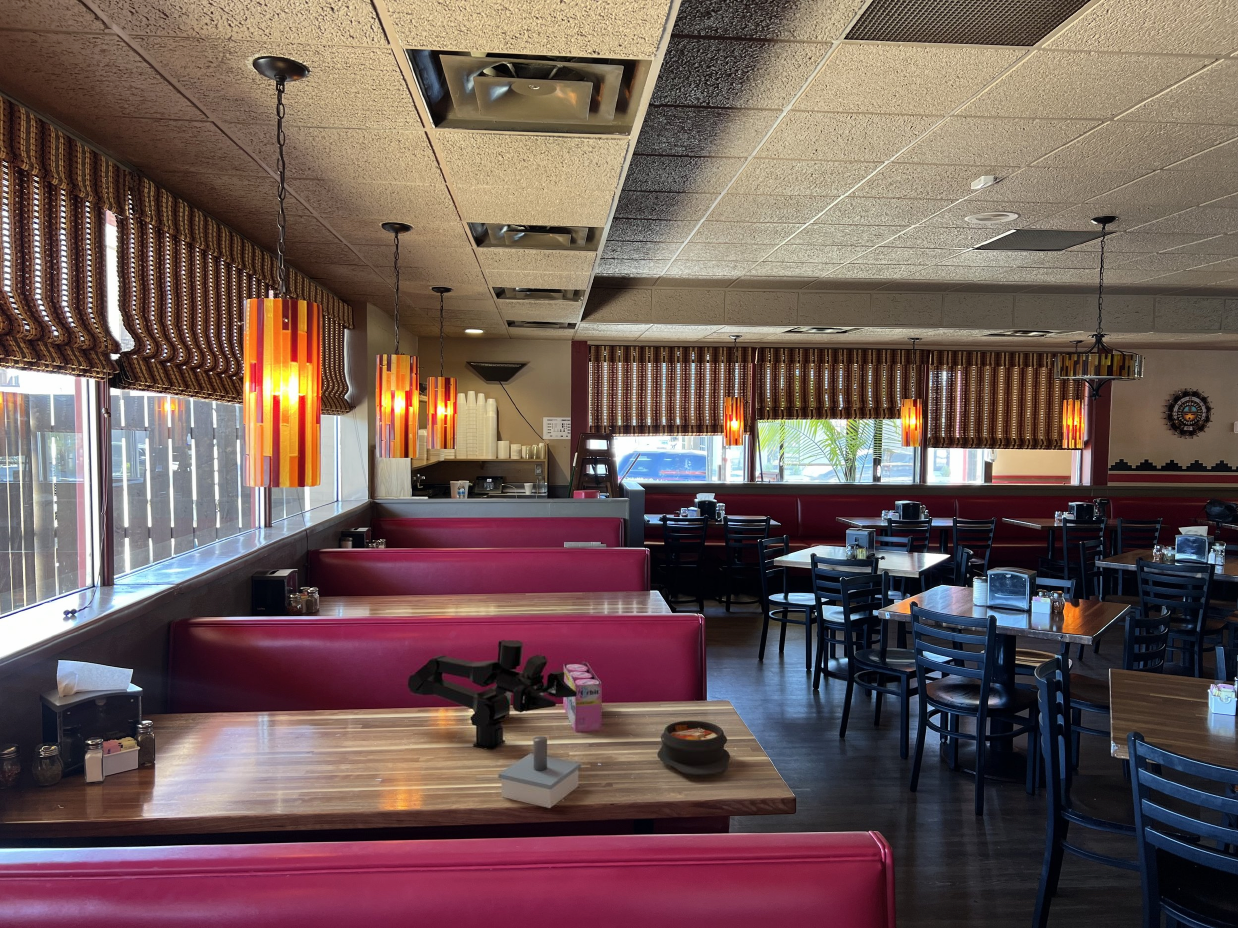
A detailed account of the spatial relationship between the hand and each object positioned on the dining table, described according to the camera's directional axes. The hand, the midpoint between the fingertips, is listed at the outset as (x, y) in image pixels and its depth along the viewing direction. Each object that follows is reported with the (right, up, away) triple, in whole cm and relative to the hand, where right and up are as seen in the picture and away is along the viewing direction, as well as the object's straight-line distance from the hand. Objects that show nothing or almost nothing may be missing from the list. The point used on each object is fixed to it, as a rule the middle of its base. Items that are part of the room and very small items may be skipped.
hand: (566, 699), depth 213 cm
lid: (-5, -13, -16) cm, 21 cm away
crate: (-5, -17, -16) cm, 24 cm away
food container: (-21, -16, +34) cm, 42 cm away
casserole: (+33, -17, +2) cm, 37 cm away
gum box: (+2, -16, +35) cm, 39 cm away
